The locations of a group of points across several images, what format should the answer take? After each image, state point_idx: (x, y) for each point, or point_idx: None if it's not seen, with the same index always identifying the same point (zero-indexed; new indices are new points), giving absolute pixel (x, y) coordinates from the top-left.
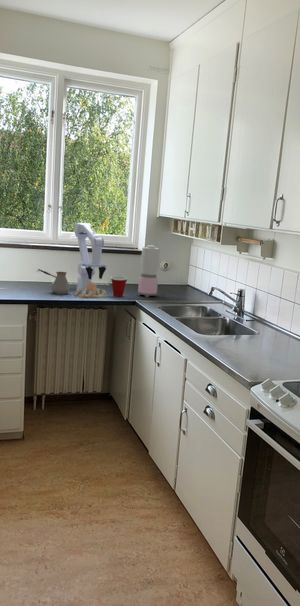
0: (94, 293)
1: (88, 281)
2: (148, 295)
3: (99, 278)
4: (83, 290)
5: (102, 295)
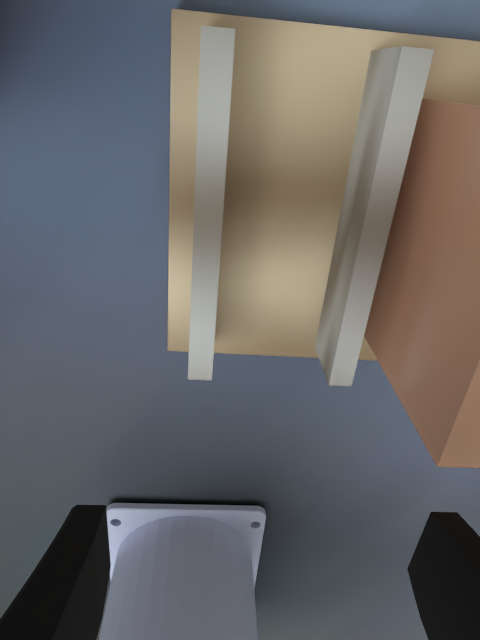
0: (472, 103)
1: (186, 631)
2: None
3: (108, 556)
4: None
5: (305, 23)
